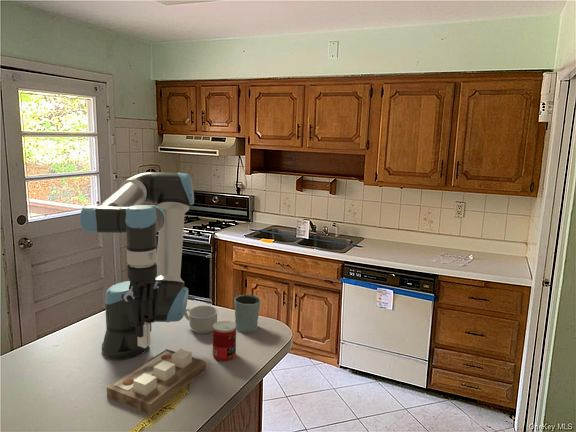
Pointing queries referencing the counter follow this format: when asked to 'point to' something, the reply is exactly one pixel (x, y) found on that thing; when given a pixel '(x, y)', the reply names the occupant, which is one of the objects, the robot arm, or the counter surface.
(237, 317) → the blue-green cup
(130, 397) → the button board
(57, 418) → the counter surface
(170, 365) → the button middle
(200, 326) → the teacup
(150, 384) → the button
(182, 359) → the button
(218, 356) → the canned food
